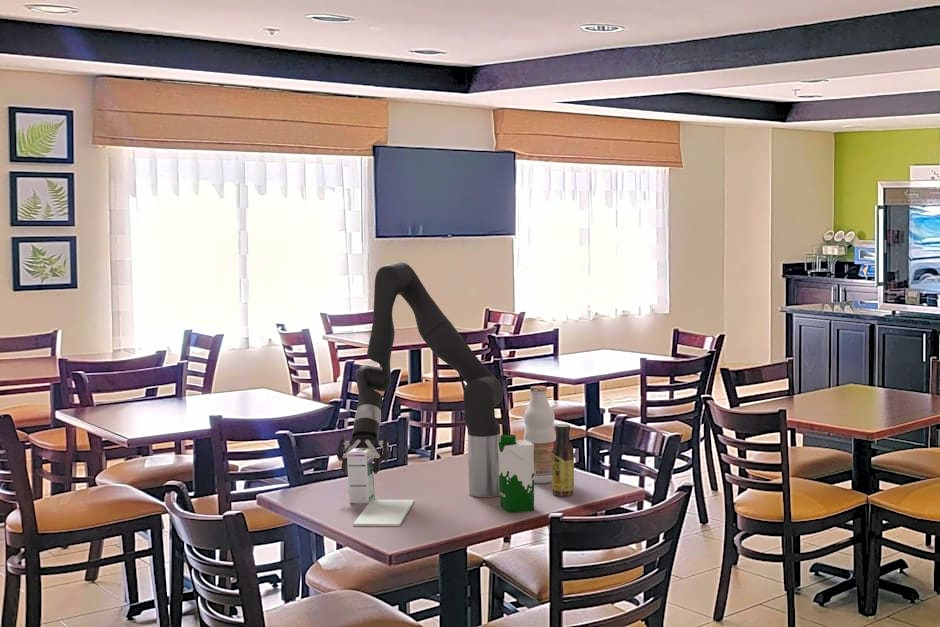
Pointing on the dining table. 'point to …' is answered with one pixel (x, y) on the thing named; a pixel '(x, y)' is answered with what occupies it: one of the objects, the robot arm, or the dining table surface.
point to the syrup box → (360, 475)
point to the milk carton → (516, 474)
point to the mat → (384, 513)
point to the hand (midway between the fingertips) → (360, 472)
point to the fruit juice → (540, 433)
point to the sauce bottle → (562, 462)
